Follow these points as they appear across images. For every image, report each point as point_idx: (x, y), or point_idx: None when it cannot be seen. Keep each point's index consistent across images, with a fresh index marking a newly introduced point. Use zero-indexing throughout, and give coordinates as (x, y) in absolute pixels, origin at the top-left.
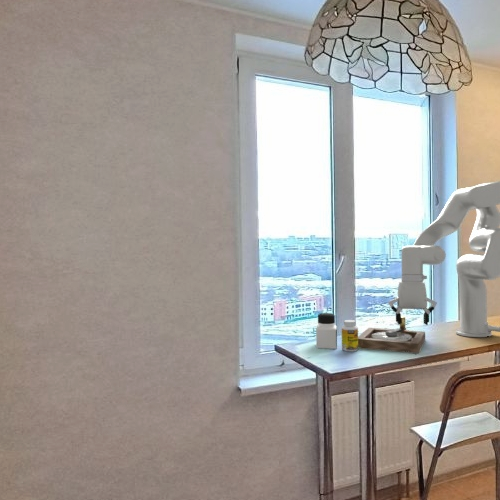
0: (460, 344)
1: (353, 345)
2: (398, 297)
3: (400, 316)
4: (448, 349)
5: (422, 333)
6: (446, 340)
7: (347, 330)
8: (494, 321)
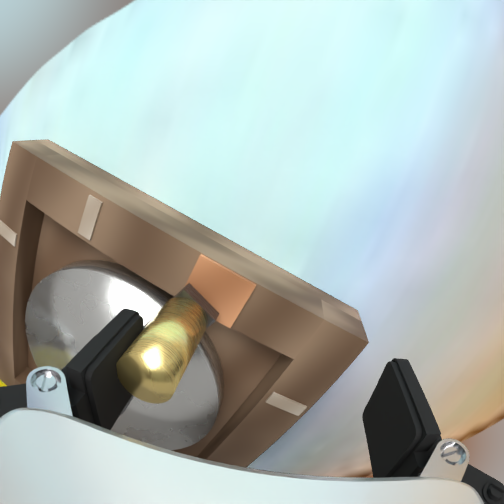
0: (456, 401)
1: None
2: None
3: (112, 421)
4: (348, 461)
5: (313, 391)
6: (463, 327)
7: None
8: None
